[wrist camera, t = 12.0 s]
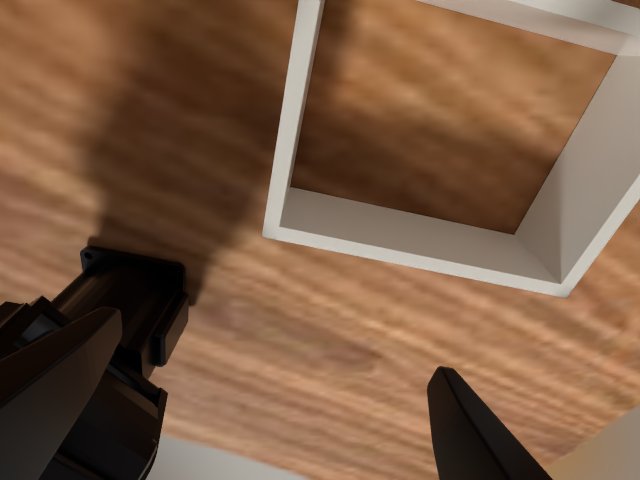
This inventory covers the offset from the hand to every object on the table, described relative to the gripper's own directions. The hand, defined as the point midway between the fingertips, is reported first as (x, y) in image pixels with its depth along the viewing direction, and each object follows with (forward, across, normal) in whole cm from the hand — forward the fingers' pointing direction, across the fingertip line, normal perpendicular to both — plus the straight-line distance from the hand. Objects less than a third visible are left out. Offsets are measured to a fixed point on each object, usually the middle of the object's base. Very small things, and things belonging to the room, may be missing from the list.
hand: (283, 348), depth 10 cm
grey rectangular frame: (+12, -6, -5) cm, 14 cm away
